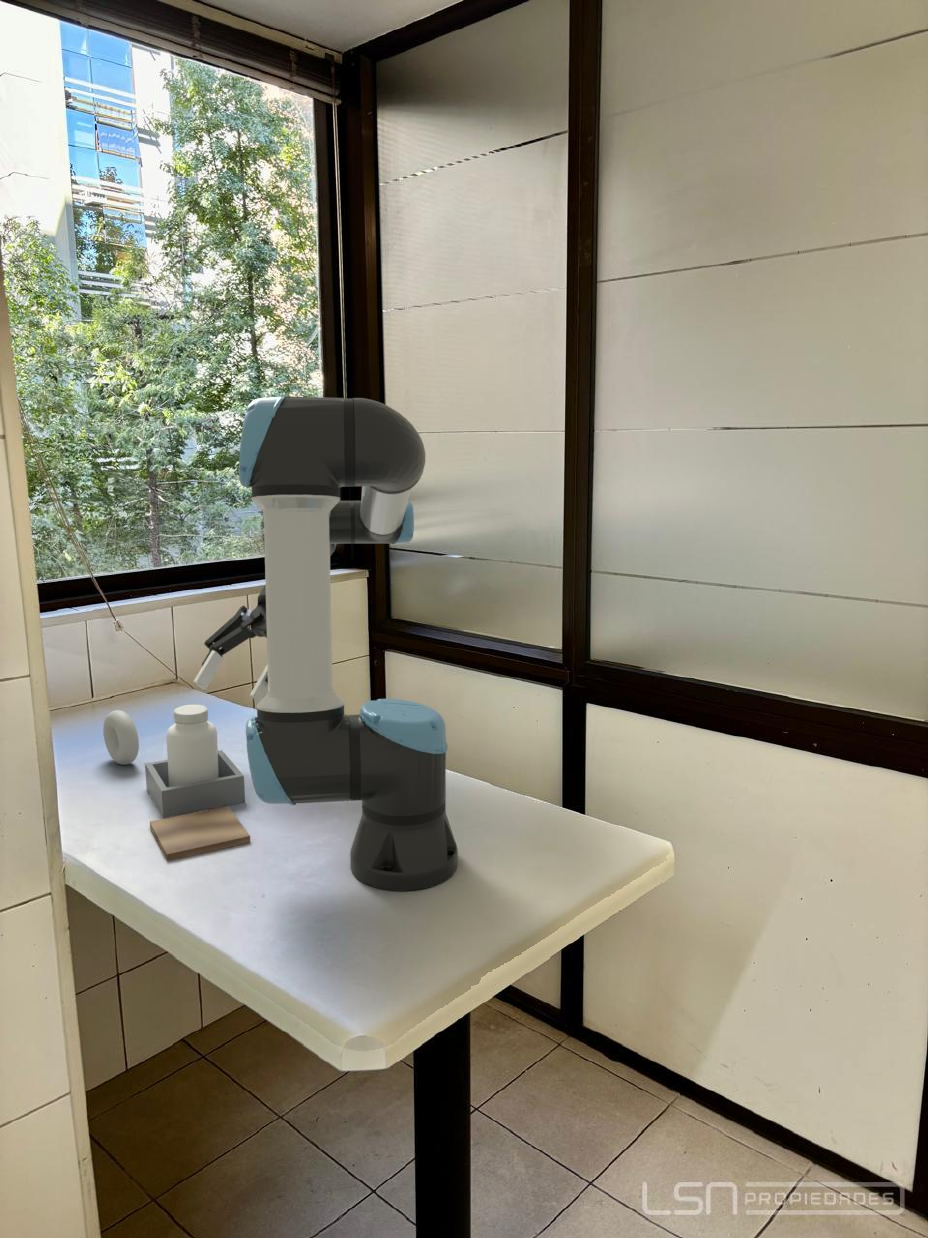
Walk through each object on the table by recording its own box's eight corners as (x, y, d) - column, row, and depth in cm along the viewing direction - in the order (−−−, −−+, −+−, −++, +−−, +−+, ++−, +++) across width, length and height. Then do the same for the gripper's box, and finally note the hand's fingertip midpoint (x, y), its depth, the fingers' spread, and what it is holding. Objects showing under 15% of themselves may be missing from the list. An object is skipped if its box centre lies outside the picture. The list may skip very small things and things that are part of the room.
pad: (250, 842, 134) (250, 836, 134) (167, 860, 128) (166, 854, 128) (228, 811, 144) (227, 805, 144) (150, 827, 139) (149, 821, 138)
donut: (102, 758, 166) (97, 706, 164) (120, 753, 168) (116, 702, 166) (125, 774, 159) (121, 720, 157) (144, 769, 161) (140, 715, 159)
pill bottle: (212, 805, 147) (207, 717, 143) (162, 804, 147) (157, 716, 144) (225, 786, 154) (221, 701, 151) (178, 785, 155) (173, 701, 151)
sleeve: (245, 801, 148) (243, 775, 147) (163, 818, 142) (161, 791, 141) (223, 774, 159) (222, 750, 158) (146, 788, 153) (144, 763, 152)
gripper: (348, 612, 160) (292, 716, 151) (247, 596, 173) (189, 691, 164) (328, 587, 154) (268, 694, 145) (224, 572, 167) (164, 669, 158)
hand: (226, 692), depth 154 cm, fingers open, 13 cm apart
